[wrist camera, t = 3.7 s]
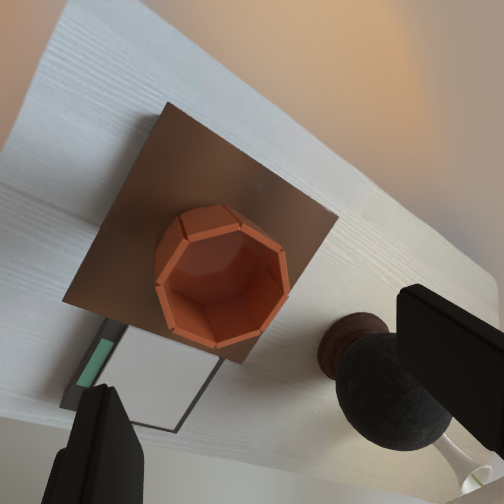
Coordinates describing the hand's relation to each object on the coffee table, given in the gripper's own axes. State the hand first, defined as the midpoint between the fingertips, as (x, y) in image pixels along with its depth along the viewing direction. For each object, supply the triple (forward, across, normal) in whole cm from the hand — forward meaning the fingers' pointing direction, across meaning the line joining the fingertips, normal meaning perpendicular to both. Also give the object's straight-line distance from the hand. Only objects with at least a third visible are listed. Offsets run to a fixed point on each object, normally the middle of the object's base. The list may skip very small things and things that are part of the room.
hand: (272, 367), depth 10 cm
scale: (+26, +10, +18) cm, 33 cm away
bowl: (+10, 0, 0) cm, 10 cm away
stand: (+26, 0, 0) cm, 26 cm away
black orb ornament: (+26, -18, +26) cm, 41 cm away
